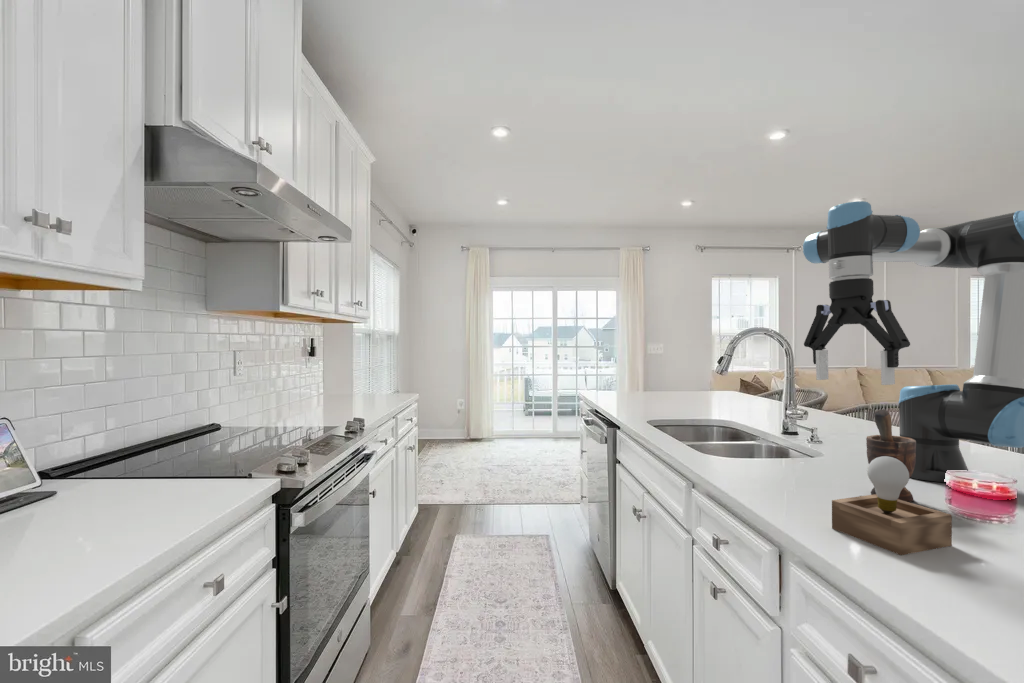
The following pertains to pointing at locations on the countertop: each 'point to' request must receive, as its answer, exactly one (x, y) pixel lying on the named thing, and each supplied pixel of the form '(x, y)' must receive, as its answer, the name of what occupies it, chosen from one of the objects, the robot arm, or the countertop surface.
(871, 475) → the light bulb
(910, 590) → the countertop surface
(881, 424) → the mortar and pestle
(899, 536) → the tray
